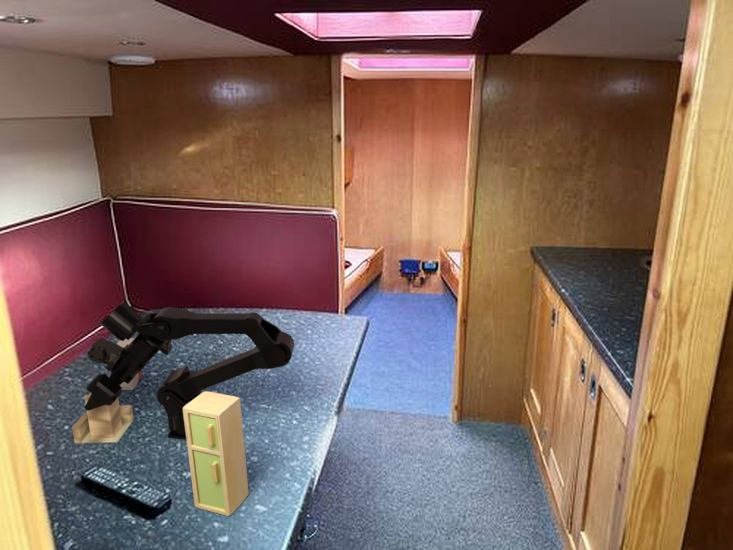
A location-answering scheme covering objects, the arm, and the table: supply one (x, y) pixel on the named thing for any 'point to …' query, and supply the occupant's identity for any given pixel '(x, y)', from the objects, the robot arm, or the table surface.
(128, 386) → the ink box
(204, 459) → the toy refrigerator
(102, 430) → the maple block
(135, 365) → the robot arm
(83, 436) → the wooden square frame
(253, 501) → the table surface
